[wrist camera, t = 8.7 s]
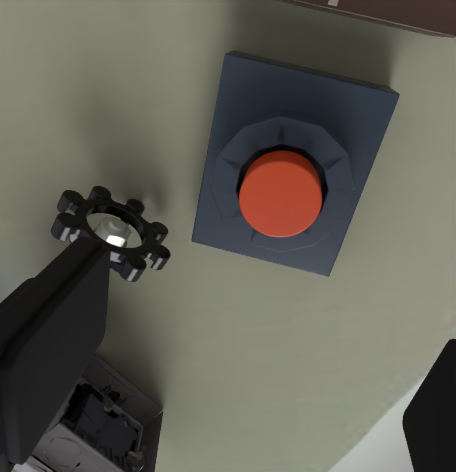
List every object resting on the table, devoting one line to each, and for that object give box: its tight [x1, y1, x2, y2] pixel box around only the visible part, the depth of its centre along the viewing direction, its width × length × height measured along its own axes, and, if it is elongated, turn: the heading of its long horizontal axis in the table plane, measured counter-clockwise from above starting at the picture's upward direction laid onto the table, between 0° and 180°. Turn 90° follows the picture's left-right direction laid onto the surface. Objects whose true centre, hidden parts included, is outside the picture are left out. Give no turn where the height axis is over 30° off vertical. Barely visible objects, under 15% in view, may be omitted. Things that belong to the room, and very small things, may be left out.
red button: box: [239, 150, 322, 237], centre depth 18 cm, size 4×4×2 cm
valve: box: [51, 186, 171, 282], centre depth 25 cm, size 7×7×12 cm
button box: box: [192, 51, 400, 277], centre depth 21 cm, size 10×8×4 cm
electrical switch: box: [14, 354, 163, 472], centre depth 29 cm, size 9×5×9 cm, turn 43°
